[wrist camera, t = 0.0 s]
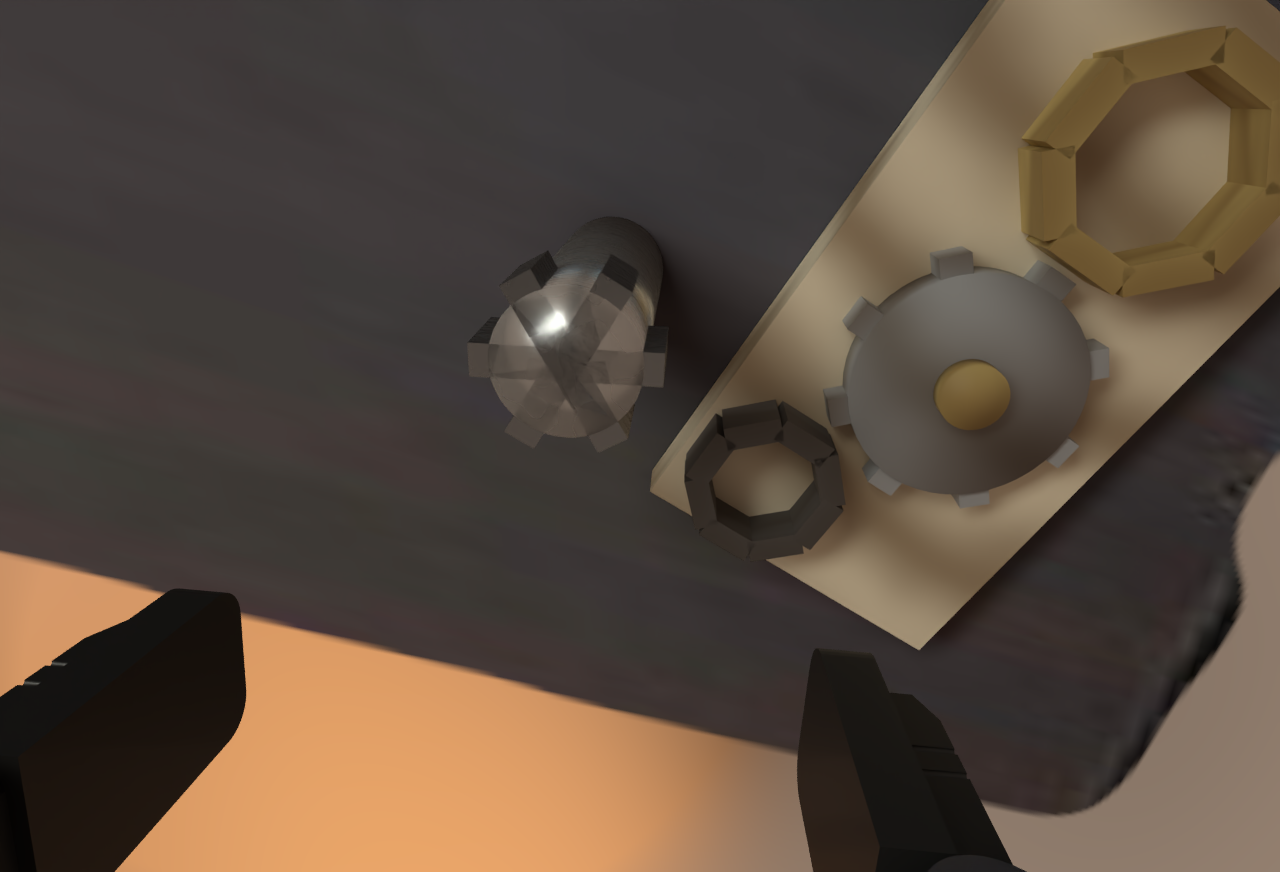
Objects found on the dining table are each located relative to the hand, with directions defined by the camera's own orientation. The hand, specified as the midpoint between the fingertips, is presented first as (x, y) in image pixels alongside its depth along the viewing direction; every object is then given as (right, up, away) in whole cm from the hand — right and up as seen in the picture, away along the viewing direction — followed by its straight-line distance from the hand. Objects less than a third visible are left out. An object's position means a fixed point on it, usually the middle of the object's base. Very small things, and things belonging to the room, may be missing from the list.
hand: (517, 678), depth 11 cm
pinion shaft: (+1, +10, +20) cm, 22 cm away
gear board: (+15, +8, +20) cm, 26 cm away
